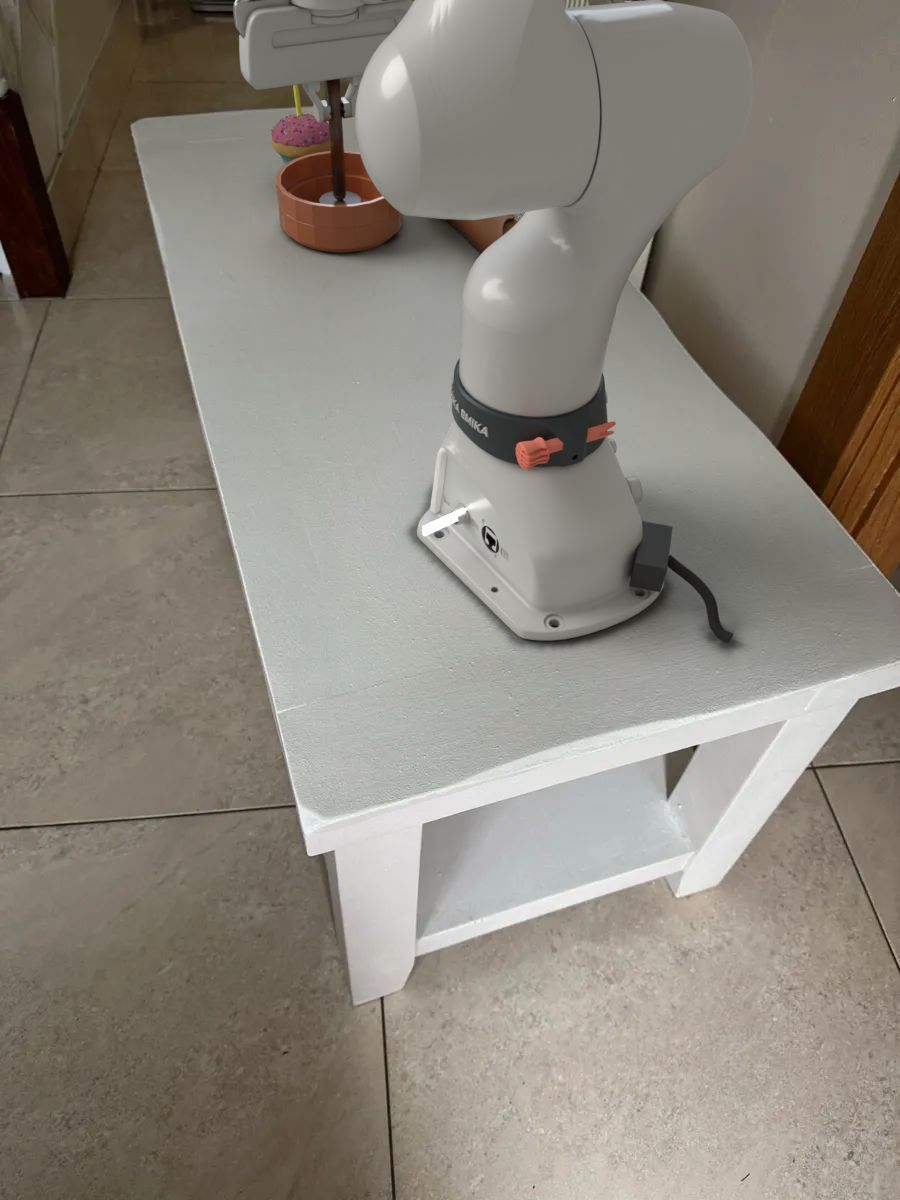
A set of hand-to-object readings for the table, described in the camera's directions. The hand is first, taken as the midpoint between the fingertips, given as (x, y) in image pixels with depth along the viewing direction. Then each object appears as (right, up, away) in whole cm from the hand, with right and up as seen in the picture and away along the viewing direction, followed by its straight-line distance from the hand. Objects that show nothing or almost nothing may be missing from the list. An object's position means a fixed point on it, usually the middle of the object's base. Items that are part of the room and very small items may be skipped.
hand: (335, 118), depth 108 cm
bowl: (0, -9, +10) cm, 13 cm away
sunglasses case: (+18, -11, +9) cm, 23 cm away
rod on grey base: (0, -8, +9) cm, 12 cm away
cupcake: (-6, +2, +19) cm, 21 cm away
